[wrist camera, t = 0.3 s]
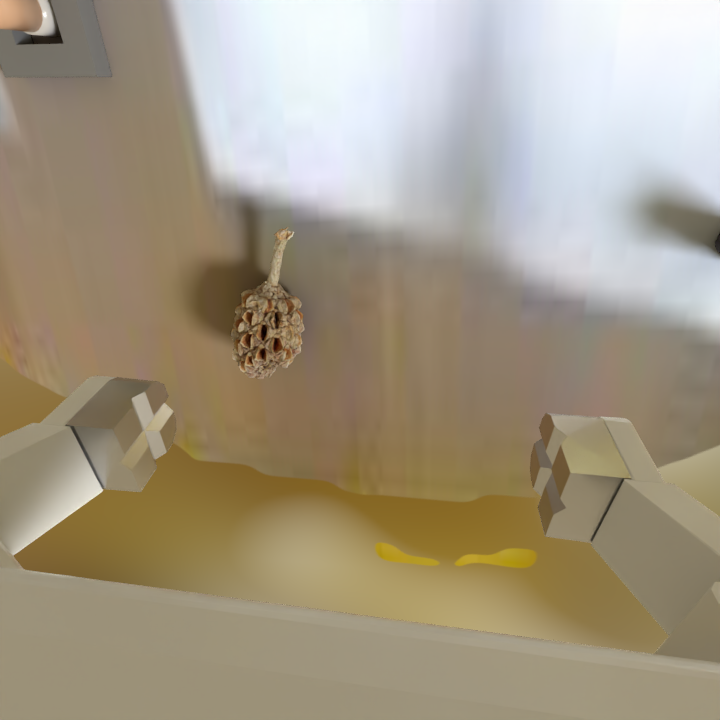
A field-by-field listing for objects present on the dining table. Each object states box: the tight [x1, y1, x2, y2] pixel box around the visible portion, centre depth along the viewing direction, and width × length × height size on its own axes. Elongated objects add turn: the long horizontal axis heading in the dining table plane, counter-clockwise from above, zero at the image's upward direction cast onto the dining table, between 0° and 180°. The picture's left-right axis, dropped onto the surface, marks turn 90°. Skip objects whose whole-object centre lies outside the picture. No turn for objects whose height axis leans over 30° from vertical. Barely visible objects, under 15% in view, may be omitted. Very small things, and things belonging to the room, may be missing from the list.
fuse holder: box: [0, 0, 112, 77], centre depth 47 cm, size 12×12×2 cm
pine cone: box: [231, 226, 304, 379], centre depth 57 cm, size 22×10×10 cm, turn 171°
